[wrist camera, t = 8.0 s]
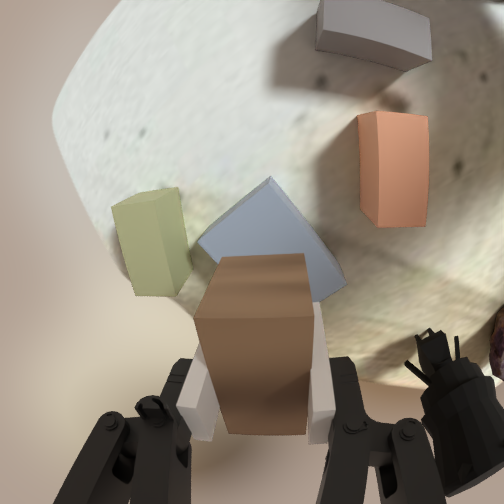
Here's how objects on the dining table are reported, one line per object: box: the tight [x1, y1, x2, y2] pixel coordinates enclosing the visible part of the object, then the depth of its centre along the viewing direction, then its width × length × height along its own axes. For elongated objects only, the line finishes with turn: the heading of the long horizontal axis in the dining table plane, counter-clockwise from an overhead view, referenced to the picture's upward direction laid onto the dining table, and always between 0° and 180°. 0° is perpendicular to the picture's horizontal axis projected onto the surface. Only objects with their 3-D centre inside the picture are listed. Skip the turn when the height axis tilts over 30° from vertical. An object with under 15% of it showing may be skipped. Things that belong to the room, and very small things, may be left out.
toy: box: [404, 328, 504, 497], centre depth 18 cm, size 8×9×20 cm
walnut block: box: [193, 253, 315, 435], centre depth 13 cm, size 8×4×5 cm, turn 5°
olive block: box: [111, 187, 193, 297], centre depth 23 cm, size 8×4×5 cm, turn 5°
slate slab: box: [197, 176, 347, 302], centre depth 23 cm, size 10×7×4 cm
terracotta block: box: [357, 111, 429, 228], centre depth 18 cm, size 8×4×5 cm, turn 5°
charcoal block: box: [315, 0, 432, 72], centre depth 14 cm, size 8×4×5 cm, turn 85°
